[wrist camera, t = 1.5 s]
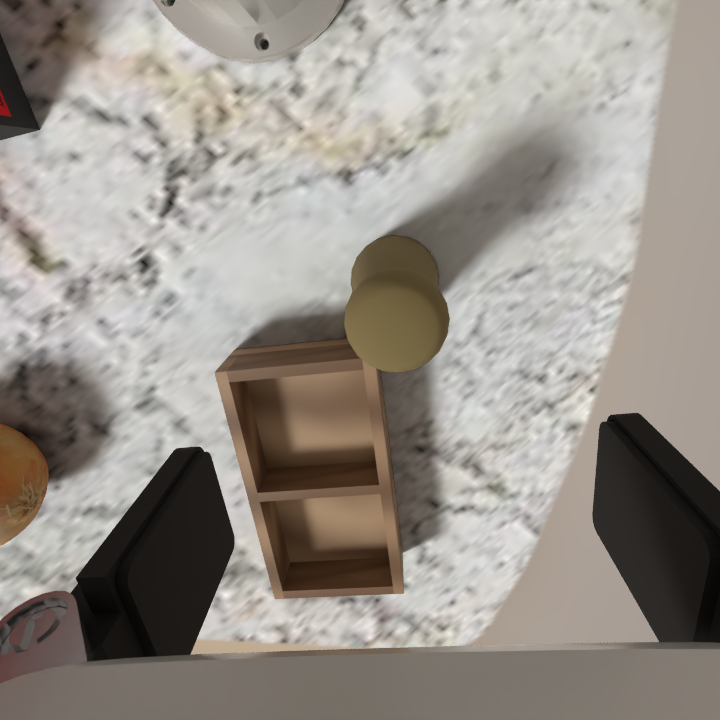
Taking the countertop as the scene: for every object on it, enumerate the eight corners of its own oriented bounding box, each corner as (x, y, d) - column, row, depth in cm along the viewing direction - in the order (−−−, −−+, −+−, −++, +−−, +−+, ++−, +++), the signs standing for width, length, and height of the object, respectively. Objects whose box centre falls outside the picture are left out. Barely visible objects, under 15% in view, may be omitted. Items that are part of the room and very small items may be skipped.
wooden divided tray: (234, 349, 34) (214, 372, 30) (376, 335, 33) (374, 357, 29) (285, 559, 42) (274, 598, 38) (402, 553, 40) (403, 593, 37)
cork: (401, 215, 30) (406, 237, 20) (457, 286, 31) (489, 340, 21) (332, 275, 32) (305, 324, 21) (388, 339, 33) (387, 413, 23)
